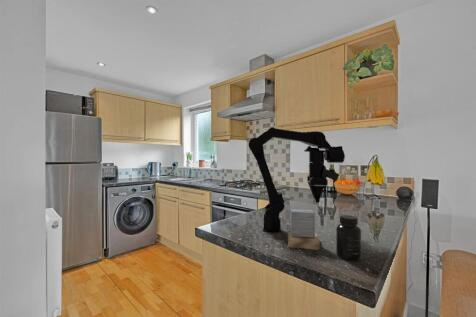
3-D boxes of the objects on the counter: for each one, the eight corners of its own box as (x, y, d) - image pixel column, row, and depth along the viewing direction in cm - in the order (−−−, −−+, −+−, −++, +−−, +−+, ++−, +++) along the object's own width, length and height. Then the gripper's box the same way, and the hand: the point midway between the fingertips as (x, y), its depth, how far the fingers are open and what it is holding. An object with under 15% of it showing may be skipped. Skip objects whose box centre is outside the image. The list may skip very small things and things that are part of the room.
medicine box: (313, 234, 79) (313, 209, 79) (315, 238, 75) (315, 212, 75) (290, 232, 81) (290, 209, 81) (291, 237, 76) (291, 211, 76)
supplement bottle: (331, 252, 70) (332, 214, 70) (352, 251, 71) (352, 213, 71) (344, 262, 63) (344, 220, 63) (366, 261, 64) (366, 219, 64)
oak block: (288, 248, 74) (288, 239, 74) (288, 238, 84) (288, 230, 84) (319, 251, 72) (319, 242, 72) (316, 240, 82) (316, 232, 82)
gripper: (342, 163, 80) (342, 206, 80) (333, 162, 98) (333, 197, 98) (310, 162, 83) (310, 204, 83) (307, 162, 101) (307, 196, 101)
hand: (316, 200), depth 91 cm, fingers open, 9 cm apart
